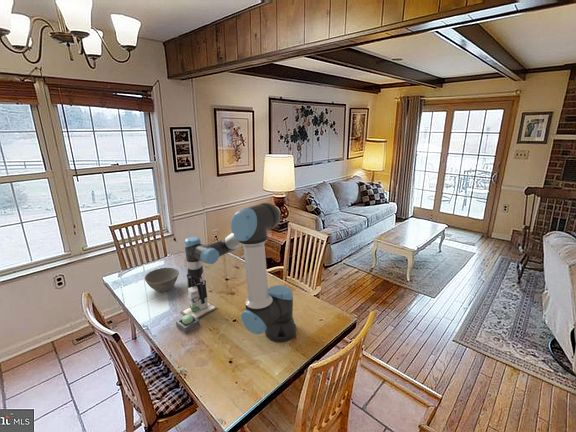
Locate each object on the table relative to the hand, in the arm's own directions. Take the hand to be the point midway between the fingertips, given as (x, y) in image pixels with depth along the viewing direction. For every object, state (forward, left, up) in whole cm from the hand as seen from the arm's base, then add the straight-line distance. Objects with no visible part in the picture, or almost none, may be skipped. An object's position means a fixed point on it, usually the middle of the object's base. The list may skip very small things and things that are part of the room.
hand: (198, 305), depth 159 cm
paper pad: (0, 0, -3) cm, 3 cm away
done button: (-7, +11, -1) cm, 13 cm away
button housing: (-7, +11, -3) cm, 13 cm away
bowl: (+34, +1, -3) cm, 35 cm away
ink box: (0, 0, -1) cm, 1 cm away
